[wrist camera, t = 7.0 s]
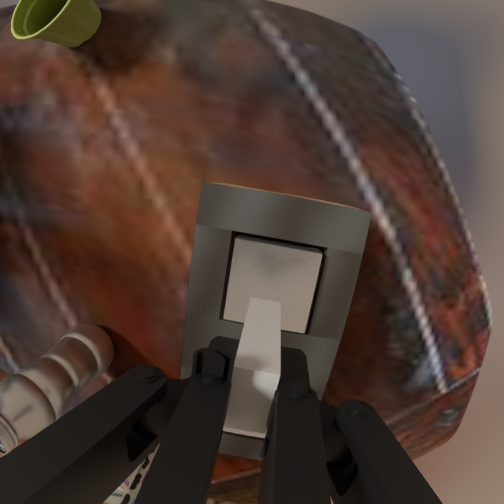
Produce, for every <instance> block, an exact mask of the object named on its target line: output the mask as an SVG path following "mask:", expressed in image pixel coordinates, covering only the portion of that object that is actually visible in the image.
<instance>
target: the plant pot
mask: <svg viewBox="0 0 504 504" xmlns="http://www.w3.org/2000/svg"><path fill="white" fill-rule="evenodd" d="M101 19H102V16H101V12H100V9H99V8H98V6H97V5H96V4H95V3H94V1H93V0H20V1H19V3H18V5H17V6H16V9H15V11H14V13H13V17H12V21H11V31H12V33H13V35H14V37H16V38H17V39H20V40H27V39H42V40H45V41H49V42H53V43H57V44H60V45H63V46H67V47H77V46H80V45H81V44H82V43H83V42H85V41H86V40H88V39H90V38H91V37H92V36H93V35H94V34H95V32H96V31H97V30H98V28H99V26H100V23H101Z"/></svg>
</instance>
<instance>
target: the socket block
mask: <svg viewBox="0 0 504 504" xmlns="http://www.w3.org/2000/svg"><path fill="white" fill-rule="evenodd" d="M371 214H372V213H371V212H368V211H365V210H361V209H358V208H355V207H351V206H348V205H343V204H338V203H333V202H328V201H323V200H318V199H312V198H307V197H302V196H296V195H291V194H285V193H280V192H274V191H268V190H262V189H256V188H250V187H244V186H238V185H231V184H225V183H208V182H202V187H201V193H200V200H199V207H198V214H197V221H196V229H195V236H194V244H193V252H192V260H191V269H190V277H189V286H188V296H187V305H186V316H185V326H184V337H183V349H182V362H181V375H180V379H186V378H189V377H190V376H191V374H192V363H193V353H194V352H195V351H196V350H198V349H201V348H207V347H208V346H209V343H210V341H211V340H212V339H213V338H215V337H217V336H223V337H228V338H233V339H238V340H240V339H241V335H242V331H243V327H244V323H242V322H237V321H231V320H226V319H223V317H224V311H225V304H226V297H227V290H228V283H229V277H230V270H231V264H232V257H233V251H234V244H235V238H236V237H237V236H238V235H239V234H240V233H241V232H244V233H250V234H255V235H261V236H267V237H272V238H278V239H283V240H289V241H294V242H300V243H305V244H311V245H316V246H318V247H319V249H320V251H321V252H322V259H321V264H320V268H319V273H318V277H317V282H316V286H315V291H314V295H313V300H312V304H311V308H310V312H309V316H308V321H307V325H306V329H305V333H298V332H292V331H286V330H281V346H283V347H290V348H296V349H301V350H302V351H303V352H304V354H305V355H306V357H307V364H308V372H309V379H310V387H311V388H312V389H313V390H315V392H316V394H317V398H318V400H320V401H321V399H322V396H323V394H324V391H325V388H326V385H327V382H328V379H329V376H330V373H331V370H332V367H333V363H334V360H335V357H336V354H337V351H338V347H339V344H340V341H341V337H342V334H343V330H344V327H345V323H346V320H347V316H348V313H349V309H350V305H351V301H352V298H353V294H354V290H355V286H356V282H357V278H358V274H359V269H360V265H361V261H362V257H363V252H364V248H365V243H366V238H367V234H368V229H369V224H370V219H371ZM264 439H265V438H260V437H254V436H248V435H242V434H237V433H232V432H227V431H223V433H222V439H221V443H220V447H219V451H218V453H221V454H226V455H231V456H237V457H242V458H248V459H254V460H261V461H262V457H259V456H260V453H261V449H262V446H263V443H264Z"/></svg>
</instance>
